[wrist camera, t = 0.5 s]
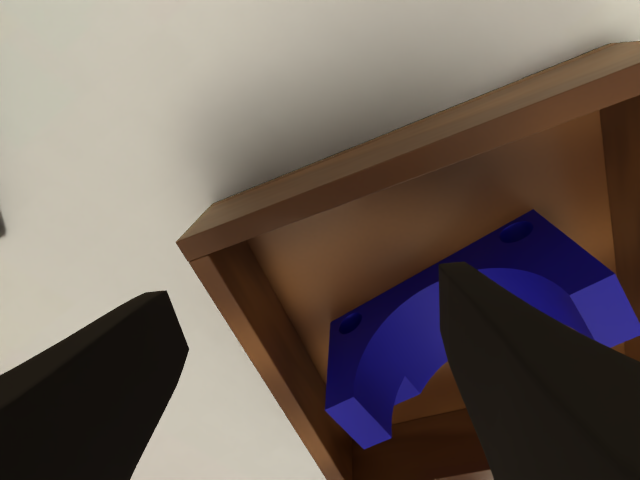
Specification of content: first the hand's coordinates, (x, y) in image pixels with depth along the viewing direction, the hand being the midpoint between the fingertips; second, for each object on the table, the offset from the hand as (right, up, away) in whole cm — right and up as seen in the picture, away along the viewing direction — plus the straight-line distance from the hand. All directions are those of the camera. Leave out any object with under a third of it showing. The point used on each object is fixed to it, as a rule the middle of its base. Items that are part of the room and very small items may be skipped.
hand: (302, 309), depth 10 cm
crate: (+7, -1, +11) cm, 13 cm away
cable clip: (+7, -1, +11) cm, 13 cm away
